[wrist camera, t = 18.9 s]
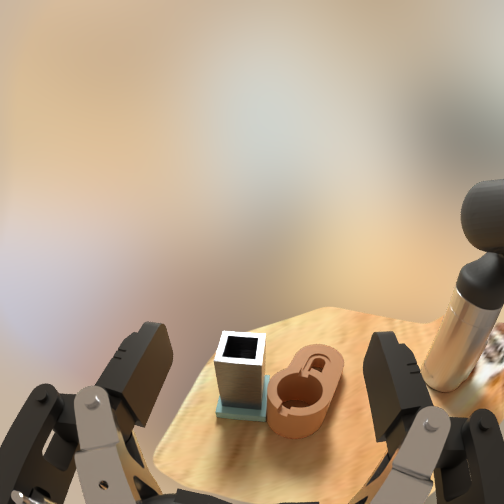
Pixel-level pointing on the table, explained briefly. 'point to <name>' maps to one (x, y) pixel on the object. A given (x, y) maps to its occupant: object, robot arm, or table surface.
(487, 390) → the table surface
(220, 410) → the shaft mount
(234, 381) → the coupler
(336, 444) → the table surface
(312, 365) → the bracket
